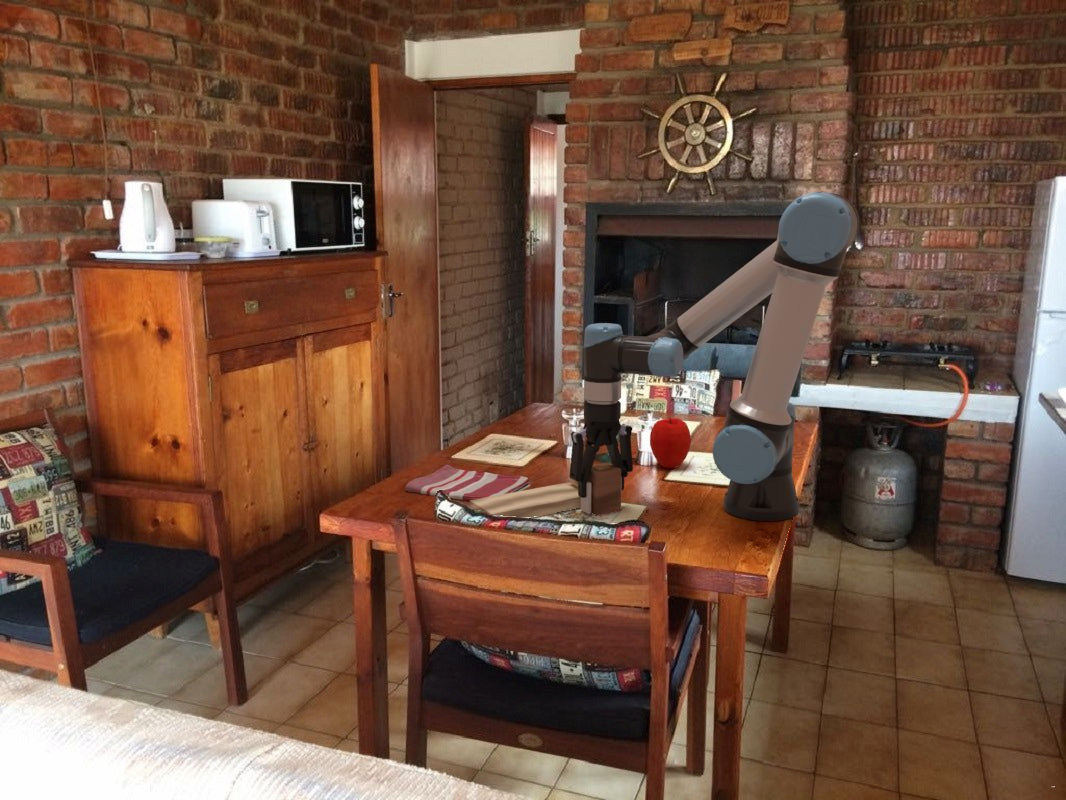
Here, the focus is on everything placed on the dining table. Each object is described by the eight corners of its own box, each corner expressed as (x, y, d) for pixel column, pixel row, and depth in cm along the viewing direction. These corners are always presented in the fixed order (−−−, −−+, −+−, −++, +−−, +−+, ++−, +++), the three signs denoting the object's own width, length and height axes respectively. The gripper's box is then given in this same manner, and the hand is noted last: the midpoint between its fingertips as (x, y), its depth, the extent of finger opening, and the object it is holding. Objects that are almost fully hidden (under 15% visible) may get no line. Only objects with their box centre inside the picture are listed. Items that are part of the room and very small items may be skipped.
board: (609, 502, 192) (609, 491, 191) (492, 526, 178) (492, 514, 177) (584, 490, 200) (584, 479, 200) (470, 511, 187) (469, 500, 186)
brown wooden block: (620, 510, 186) (621, 468, 184) (596, 515, 184) (596, 472, 182) (583, 492, 198) (583, 452, 196) (560, 497, 195) (560, 456, 193)
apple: (666, 458, 225) (667, 410, 222) (699, 466, 218) (700, 416, 215) (641, 466, 218) (641, 417, 215) (674, 474, 211) (675, 424, 208)
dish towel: (444, 473, 215) (444, 463, 215) (532, 486, 205) (532, 475, 204) (404, 493, 201) (403, 482, 200) (496, 508, 190) (495, 496, 190)
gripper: (631, 391, 190) (629, 496, 195) (550, 402, 181) (551, 511, 186) (652, 398, 184) (650, 505, 189) (570, 409, 174) (570, 522, 179)
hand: (601, 508), depth 187 cm, fingers open, 7 cm apart
